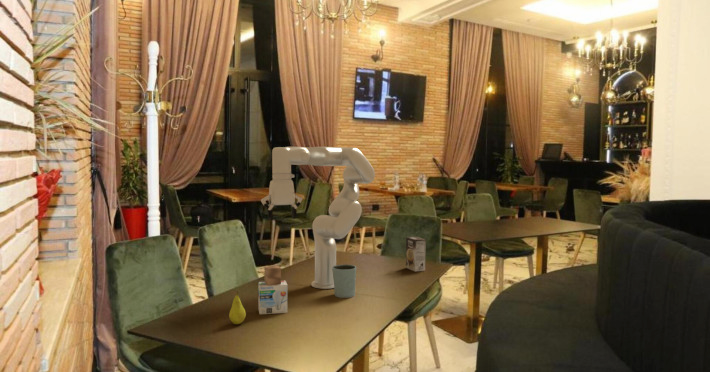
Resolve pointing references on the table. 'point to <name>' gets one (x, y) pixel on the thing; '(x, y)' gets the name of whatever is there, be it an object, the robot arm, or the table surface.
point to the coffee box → (415, 253)
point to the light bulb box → (272, 298)
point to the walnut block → (272, 275)
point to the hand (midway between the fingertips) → (282, 218)
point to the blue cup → (344, 280)
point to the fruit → (237, 311)
